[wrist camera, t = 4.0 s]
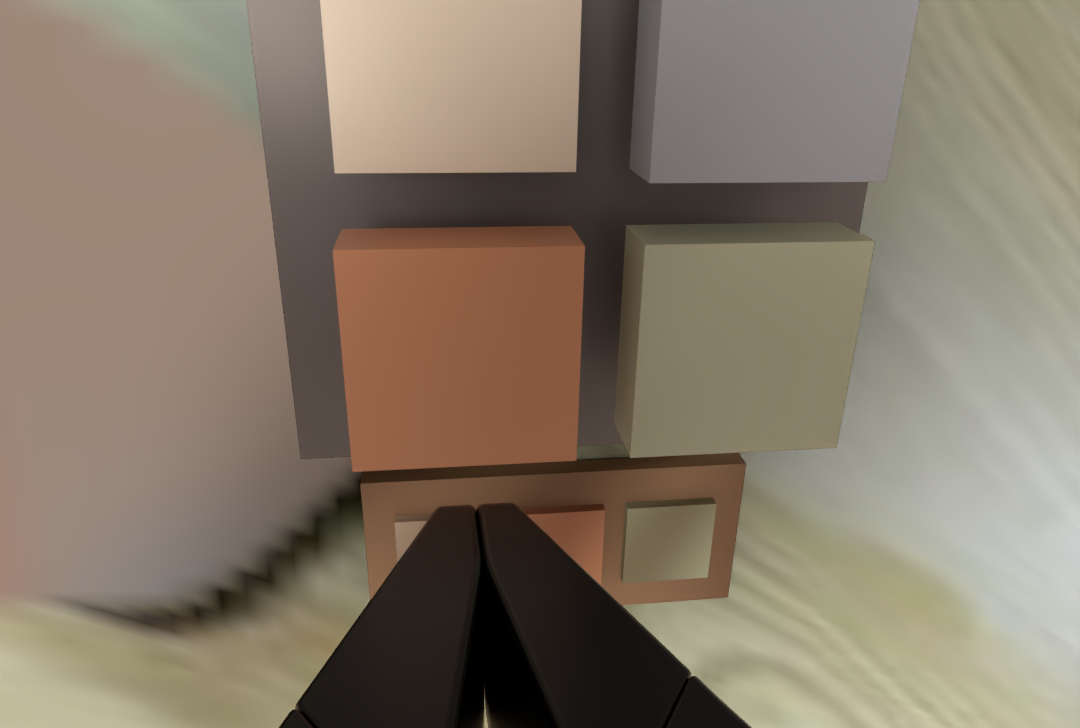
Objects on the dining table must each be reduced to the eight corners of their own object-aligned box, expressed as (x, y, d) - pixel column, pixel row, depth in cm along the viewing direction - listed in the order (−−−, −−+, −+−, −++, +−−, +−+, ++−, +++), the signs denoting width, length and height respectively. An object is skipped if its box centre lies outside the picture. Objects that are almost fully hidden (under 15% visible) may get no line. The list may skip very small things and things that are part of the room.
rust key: (548, 192, 17) (584, 246, 13) (545, 365, 18) (576, 460, 14) (356, 194, 16) (332, 250, 12) (370, 371, 18) (352, 471, 14)
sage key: (773, 190, 17) (875, 240, 13) (751, 357, 19) (836, 447, 15) (594, 192, 17) (644, 244, 13) (587, 363, 19) (630, 458, 15)
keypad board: (862, -142, 16) (929, -167, 14) (782, 390, 21) (823, 434, 19) (253, -169, 15) (222, -202, 13) (315, 410, 19) (300, 458, 17)
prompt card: (737, 452, 22) (750, 469, 21) (720, 583, 23) (731, 604, 22) (362, 471, 20) (359, 490, 19) (373, 608, 22) (371, 630, 21)
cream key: (546, -69, 16) (584, -100, 12) (542, 137, 17) (576, 172, 13) (342, -76, 15) (310, -109, 11) (357, 137, 17) (334, 173, 13)
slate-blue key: (806, -66, 16) (937, -97, 12) (779, 143, 17) (885, 181, 13) (606, -74, 15) (669, -107, 11) (596, 144, 17) (648, 183, 13)
